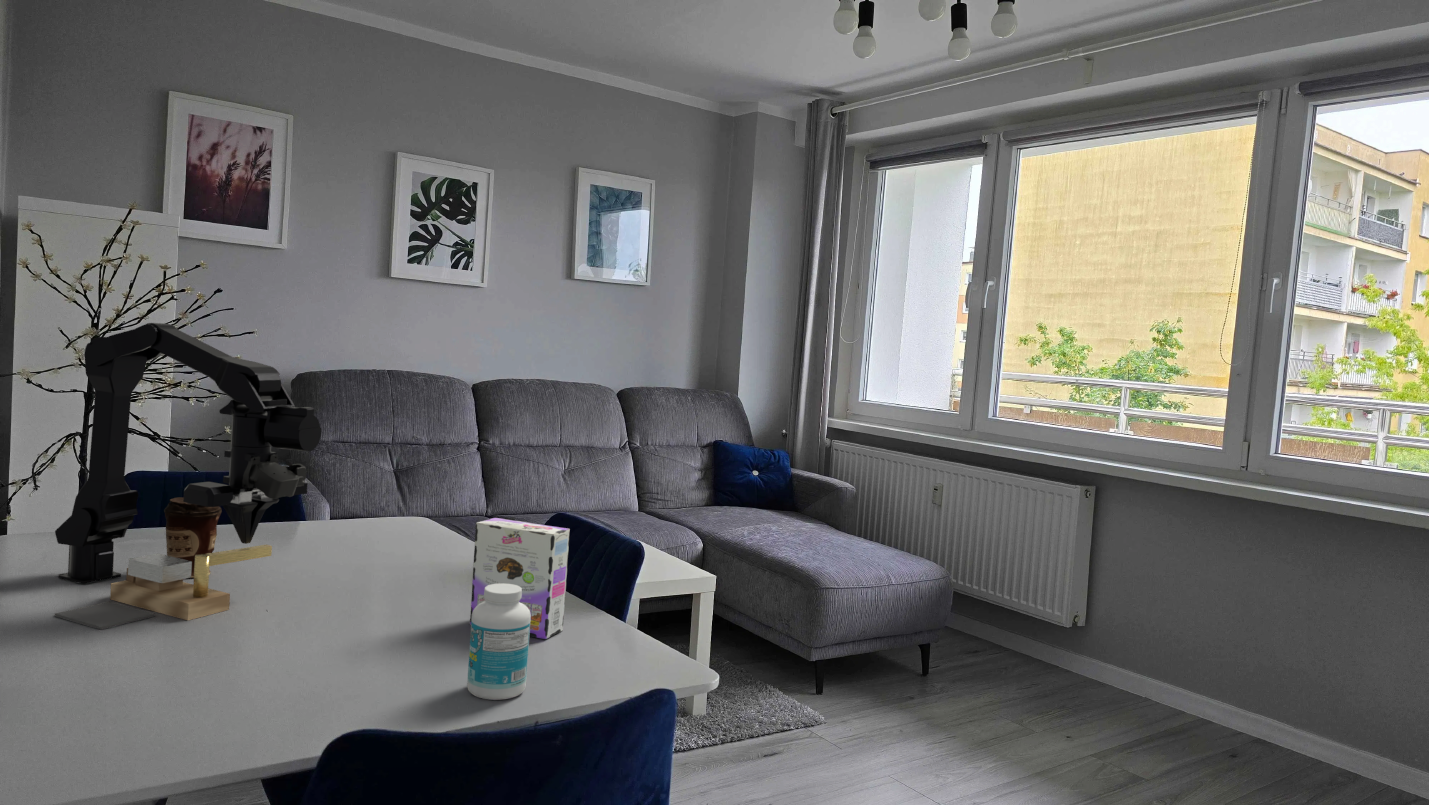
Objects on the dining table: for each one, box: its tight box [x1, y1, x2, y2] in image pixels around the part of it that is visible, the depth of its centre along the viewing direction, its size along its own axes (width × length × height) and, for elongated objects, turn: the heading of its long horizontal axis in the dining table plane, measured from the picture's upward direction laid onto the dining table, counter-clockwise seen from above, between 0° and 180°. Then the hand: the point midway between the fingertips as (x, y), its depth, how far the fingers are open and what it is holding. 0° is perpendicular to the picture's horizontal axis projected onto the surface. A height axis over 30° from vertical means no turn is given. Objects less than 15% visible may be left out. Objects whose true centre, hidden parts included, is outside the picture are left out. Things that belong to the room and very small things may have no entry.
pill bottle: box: [466, 583, 531, 701], centre depth 121 cm, size 8×7×14 cm
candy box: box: [469, 517, 571, 640], centre depth 147 cm, size 14×6×16 cm, turn 71°
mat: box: [54, 600, 156, 631], centre depth 137 cm, size 10×8×1 cm
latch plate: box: [109, 567, 231, 621], centre depth 145 cm, size 17×7×4 cm, turn 67°
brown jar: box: [163, 497, 223, 579], centre depth 161 cm, size 9×8×13 cm
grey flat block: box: [127, 553, 192, 583], centre depth 145 cm, size 8×5×2 cm, turn 67°
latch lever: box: [192, 544, 273, 597], centre depth 146 cm, size 12×2×6 cm, turn 150°
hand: (245, 543), depth 149 cm, fingers closed
